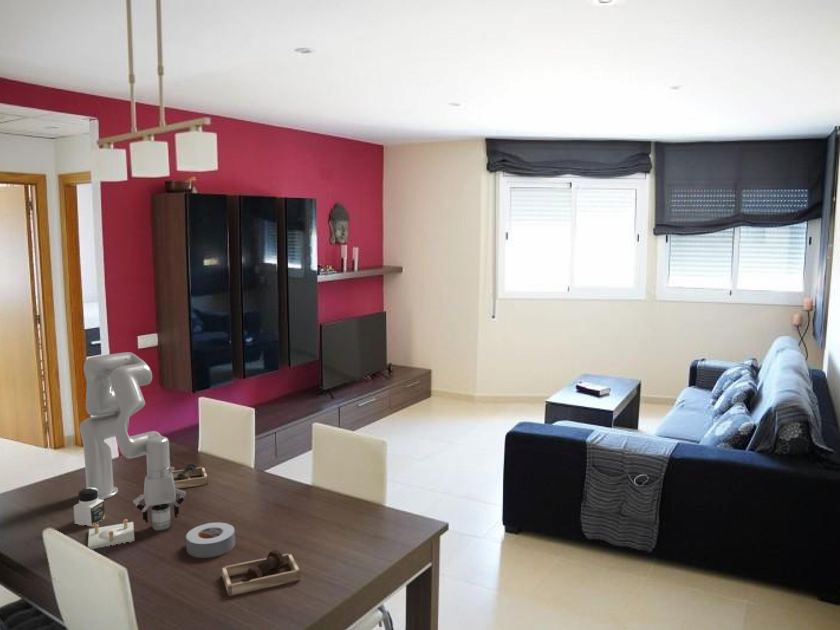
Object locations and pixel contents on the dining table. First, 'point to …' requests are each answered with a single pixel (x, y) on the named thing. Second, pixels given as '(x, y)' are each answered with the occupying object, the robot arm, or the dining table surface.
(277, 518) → the dining table surface
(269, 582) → the bolt frame
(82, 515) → the medicine bottle
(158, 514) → the camera lens
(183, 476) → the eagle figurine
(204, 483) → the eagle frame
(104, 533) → the pin board
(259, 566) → the bolt
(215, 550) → the tape roll
